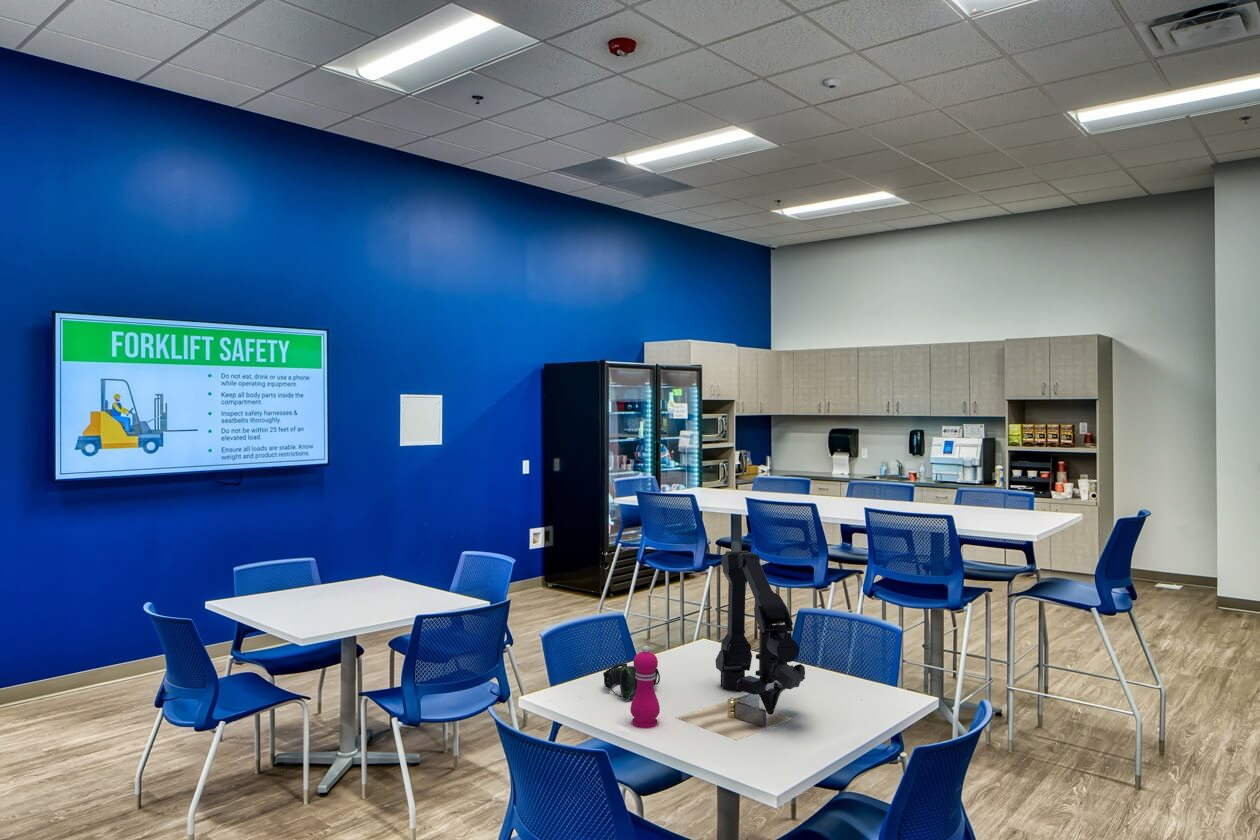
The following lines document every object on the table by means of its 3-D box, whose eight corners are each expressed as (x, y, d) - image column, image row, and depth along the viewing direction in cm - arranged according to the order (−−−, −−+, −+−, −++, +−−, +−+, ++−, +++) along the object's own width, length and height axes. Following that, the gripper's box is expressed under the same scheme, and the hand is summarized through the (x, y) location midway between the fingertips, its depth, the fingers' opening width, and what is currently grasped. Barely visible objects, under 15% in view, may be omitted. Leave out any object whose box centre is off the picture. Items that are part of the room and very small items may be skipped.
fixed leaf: (732, 718, 205) (733, 700, 205) (725, 716, 207) (725, 698, 207) (761, 708, 213) (761, 691, 213) (753, 706, 214) (754, 689, 214)
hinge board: (674, 721, 205) (674, 717, 205) (731, 702, 220) (731, 698, 220) (736, 744, 191) (736, 740, 191) (793, 722, 206) (793, 718, 206)
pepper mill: (642, 720, 206) (643, 640, 206) (665, 727, 202) (666, 645, 202) (624, 728, 201) (625, 646, 201) (647, 735, 196) (648, 651, 196)
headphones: (677, 679, 222) (652, 670, 241) (642, 646, 221) (620, 639, 239) (645, 719, 218) (623, 707, 236) (610, 685, 216) (590, 676, 235)
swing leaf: (726, 715, 207) (726, 700, 207) (731, 713, 208) (731, 698, 208) (761, 727, 198) (761, 712, 198) (767, 725, 200) (767, 710, 200)
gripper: (771, 665, 192) (770, 731, 192) (820, 652, 204) (819, 715, 204) (736, 654, 201) (735, 718, 201) (785, 643, 213) (784, 703, 213)
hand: (770, 714), depth 204 cm, fingers closed
